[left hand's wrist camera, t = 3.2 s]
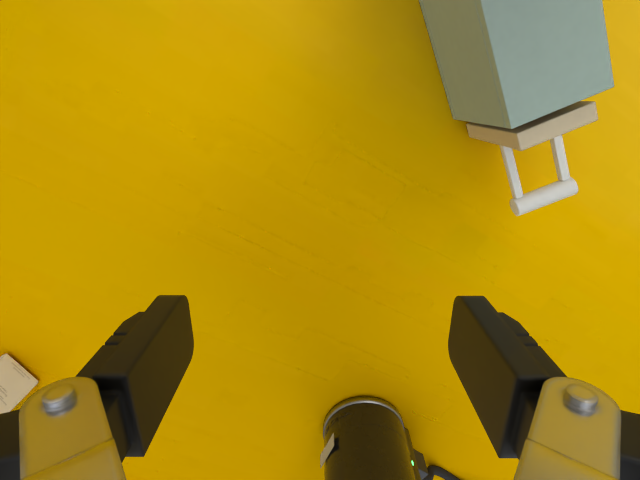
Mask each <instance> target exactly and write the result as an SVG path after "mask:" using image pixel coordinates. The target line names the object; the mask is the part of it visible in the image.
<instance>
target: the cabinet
mask: <svg viewBox="0 0 640 480" xmlns="http://www.w3.org/2000/svg"><path fill="white" fill-rule="evenodd" d="M419 2H420V6H421V9H422V13H423V16H424V20H425V23H426V27H427V30H428V33H429V37H430V40H431V44H432V47H433V51H434V54H435V58H436V61H437V64H438V68H439V71H440V75H441V78H442V82H443V85H444V89H445V92H446V95H447V99H448V102H449V106H450V109H451V113H452V116H453V119H455V120H462V121H468V122H474V123H480V124H486V125H491V126H497V127H503V128H509V129H513V128H516V127H518V126H521V125H523V124H525V123H528V122H530V121H533V120H535V119H537V118H540V117H542V116H545V115H547V114H550V113H552V112H554V111H557V110H559V109H562V108H564V107H566V106H569V105H571V104H574V103H576V102H579V101H581V100H583V99H586V98H588V97H591V96H593V95H595V94H598V93H600V92H603V91H605V90H607V89H610V88H612V87H614V81H613V74H612V67H611V60H610V53H609V46H608V39H607V32H606V25H605V18H604V11H603V4H602V0H419Z"/></svg>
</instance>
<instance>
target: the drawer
mask: <svg viewBox="0 0 640 480" xmlns="http://www.w3.org/2000/svg"><path fill="white" fill-rule="evenodd" d="M597 120H598V116H597V110H596V103H595V102H589V101H579V102H576V103H574V104H571V105H569V106H566V107H564V108H562V109H559V110H557V111H554V112H552V113H550V114H547V115H545V116H542V117H540V118H537V119H535V120H533V121H530V122H528V123H525V124H523V125H521V126H518V127H516V128H513V129H509V128H503V127H497V126H491V125H486V124H480V123H474V122H469V123H467V124H466V126H467V130H468V134H469V137H471V138H475V139H479V140H482V141H486V142H490V143H494V144H497V145H500V149H501V153H502V157H503V161H504V164H505V168H506V172H507V176H508V180H509V184H510V188H511V192H512V196H513V198H512V199H511V200H510V207H511V209H512V211H513V213H514V214H515V215H517V216H520V215H522V214H525V213H527V212H530V211H533V210H535V209H538V208H541V207H543V206H546V205H548V204H551V203H554V202H556V201H559V200H562V199H564V198H567V197H569V196H572V195H575V194H576V193H577V192H578V186H577V183H576V182H575V180H574V179H573V178H571V177H570V174H569V169H568V164H567V159H566V154H565V149H564V144H563V139H562V134H564V133H567V132H569V131H572V130H574V129H577V128H579V127H582V126H584V125H587V124H589V123H592V122H594V121H597ZM547 140H550V143H551V147H552V152H553V157H554V162H555V167H556V171H557V176H558V180H559V181H556V182H554V183H551V184H549V185H546V186H543V187H541V188H538V189H536V190H533V191H531V192H528V193H525V194H523V192H522V188H521V184H520V179H519V175H518V171H517V167H516V163H515V159H514V155H513V151H512V149H516V150H519V151H522V150H525V149H527V148H530V147H532V146H535V145H537V144H540V143H542V142H545V141H547Z"/></svg>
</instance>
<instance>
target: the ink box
mask: <svg viewBox="0 0 640 480" xmlns="http://www.w3.org/2000/svg"><path fill="white" fill-rule="evenodd" d="M37 383H38V380H37V379H36V378H34V377H33V376H32V375H31V374H30V373H29V372H27V371H26V370H25V369H24V368H23V367H22V366H21V365H20V364H18V363H17V362H16V361H15V360H14V359H13V358H12V357H10V356H9V355H8V354H4V355H2V356H1V357H0V414H2V413H6V412H10V411H11V410H12V409H13V408H14V407H15V406H16V405H17V404H18V403H19V402H20V401H21V400H22V399H23V398H24V397H25V396H26V395H27V394H28V393H29V392H30V391H31V390H32V389H33V388H34V387H35V386H36V384H37Z"/></svg>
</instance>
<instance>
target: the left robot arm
mask: <svg viewBox="0 0 640 480" xmlns="http://www.w3.org/2000/svg"><path fill="white" fill-rule="evenodd" d="M193 348H194V340H193V332H192V325H191V318H190V310H189V303H188V299H187V297H186V296H185V295H159V296H157V297H156V299H155V300H154V301H153V302H152V303H151V305H150V306H149V307H148V308H147V310H146V311H145V312H138V313H137V314H135V315H133V316H132V317H130V318H129V319H127V320H125V321H124V322H123V323H122V324H121V325H120V326H119V327H118V329H117V330H116V331H115V332H114V334H113V336H112V335H111V337H110V338H109V339H108V340H107V341H106V342H105V345H103V346H102V347H101V348H100V349H99V350H98V351H97V353H96V354H95V355H94V356H93V357H92V358H91V359H90V361H89V362H88V363H87V364H86V365H85V366H84V367H83V369H82V370H81V371H80V372H79V373H78V374H77V375H76V377H71V378H66V379H62V380H59V381H56V382H54V383H51V384H49V385H47V386H45V387H43V388H41V389H40V390H38V391H37V392H35V393H34V394H33V395H31V396H30V397H29V398H28V399H27V400H26V401H25V402H24V404H23V405H22V407H21V409H20V410H15V411H11V412H6V413H2V414H0V480H126V477H125V473H124V470H123V467H122V462H123V460H124V458H125V457H144V455H145V453H146V451H147V449H148V447H149V445H150V443H151V441H152V439H153V437H154V435H155V433H156V431H157V429H158V427H159V425H160V423H161V421H162V418H163V416H164V414H165V412H166V410H167V408H168V406H169V404H170V402H171V400H172V398H173V396H174V394H175V392H176V390H177V388H178V386H179V384H180V382H181V380H182V378H183V376H184V374H185V372H186V370H187V368H188V366H189V363H190V361H191V359H192V355H193ZM448 350H449V356H450V360H451V362H452V364H453V366H454V368H455V370H456V372H457V374H458V376H459V378H460V380H461V382H462V384H463V386H464V388H465V390H466V392H467V394H468V396H469V398H470V400H471V403H472V405H473V407H474V409H475V411H476V413H477V415H478V417H479V419H480V421H481V423H482V425H483V427H484V429H485V431H486V433H487V435H488V437H489V439H490V441H491V443H492V445H493V447H494V449H495V451H496V453H497V455H498V457H499V458H518V459H519V463H518V467H517V470H516V473H515V477H514V480H640V414H635V413H631V412H626V411H622V410H620V409H619V407H618V405H617V404H616V402H615V401H614V400H613V399H612V398H611V397H610V396H609V395H607V394H606V393H605V392H603V391H602V390H600V389H599V388H597V387H595V386H593V385H591V384H589V383H586V382H584V381H581V380H578V379H574V378H569V377H567V376H566V375H565V374H564V373H563V372H562V371H561V369H560V368H559V367H558V366H557V365H556V364H555V363H554V362H553V360H552V359H551V358H550V357H549V356H548V355H547V354H546V353H545V351H544V350H543V349H542V348H541V347H540V346H538V343H537V342H536V341H535V340H534V339H533V338H532V337H531V336H529V333H528V332H527V331H526V330H525V329H524V328H523V327H522V325H521V324H520V323H519V322H517V321H516V320H514V319H513V318H511V317H509V316H508V315H506V314H505V313H498V312H497V311H496V310H495V309H494V307H493V306H492V305H491V304H490V303H489V301H488V300H487V299H486V298H485V297H484V296H457V297H456V298H455V300H454V304H453V311H452V318H451V325H450V332H449V340H448ZM323 437H324V450H323V452H322V453H321V455H320V460H321V467H322V465H323V464H324V467H325V480H433V477H434V475H437V476H440V477H442V478H444V479H445V480H460V479H458V478H457V477H455V476H454V475H452V474H451V473H449V472H448V471H446V470H444V469H443V468H441V467H438V466H429V467H428V468H427V467H426V464H425V460H424V457H423V454H422V453H420V452H418V451H416V450H415V449H413V447H412V443H411V439H410V435H409V432H408V430H407V429H406V428H404V425H403V421H402V418H401V415H400V413H399V412H398V410H397V409H396V408H395V407H394V406H393V405H391V404H390V403H388V402H387V401H385V400H382V399H379V398H376V397H369V396H360V397H354V398H350V399H347V400H344V401H342V402H340V403H339V404H337V405H336V406H334V407H333V408H332V409H331V410H330V411H329V413H328V414H327V416H326V418H325V420H324V425H323Z"/></svg>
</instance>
